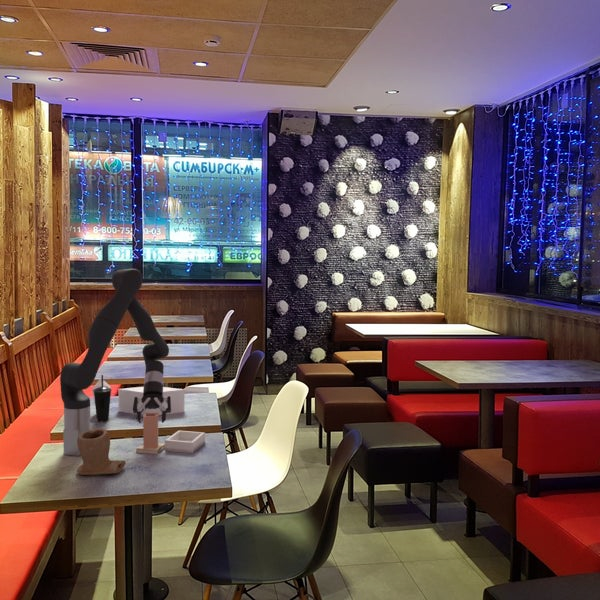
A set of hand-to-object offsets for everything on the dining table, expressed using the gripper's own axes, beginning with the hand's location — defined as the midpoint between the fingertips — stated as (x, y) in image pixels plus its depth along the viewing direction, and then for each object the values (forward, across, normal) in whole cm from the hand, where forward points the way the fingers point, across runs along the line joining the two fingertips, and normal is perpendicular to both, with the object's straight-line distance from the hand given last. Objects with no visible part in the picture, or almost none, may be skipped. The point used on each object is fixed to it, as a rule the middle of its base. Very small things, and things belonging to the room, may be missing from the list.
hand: (151, 421), depth 247 cm
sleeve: (+8, 0, +5) cm, 9 cm away
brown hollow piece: (+25, -15, -10) cm, 31 cm away
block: (-30, -4, +45) cm, 54 cm away
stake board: (+9, 0, +6) cm, 10 cm away
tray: (+7, +13, +8) cm, 16 cm away
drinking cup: (-21, -24, +36) cm, 48 cm away
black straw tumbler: (-29, -26, +44) cm, 59 cm away
